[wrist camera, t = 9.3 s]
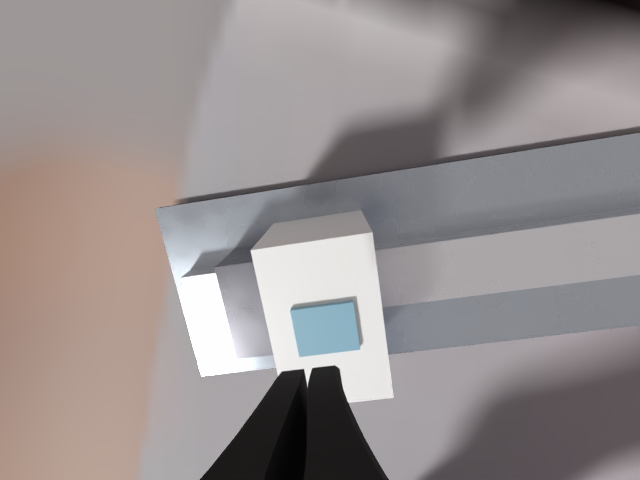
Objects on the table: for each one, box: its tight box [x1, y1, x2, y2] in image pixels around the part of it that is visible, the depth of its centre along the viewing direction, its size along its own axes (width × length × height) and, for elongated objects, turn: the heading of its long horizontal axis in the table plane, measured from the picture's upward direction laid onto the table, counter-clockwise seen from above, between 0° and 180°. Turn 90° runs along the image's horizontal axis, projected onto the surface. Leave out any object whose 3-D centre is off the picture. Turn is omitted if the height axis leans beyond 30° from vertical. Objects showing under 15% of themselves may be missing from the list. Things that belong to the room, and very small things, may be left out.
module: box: [250, 210, 394, 403], centre depth 15 cm, size 7×4×5 cm, turn 9°
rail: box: [155, 132, 640, 376], centre depth 16 cm, size 10×26×3 cm, turn 99°
